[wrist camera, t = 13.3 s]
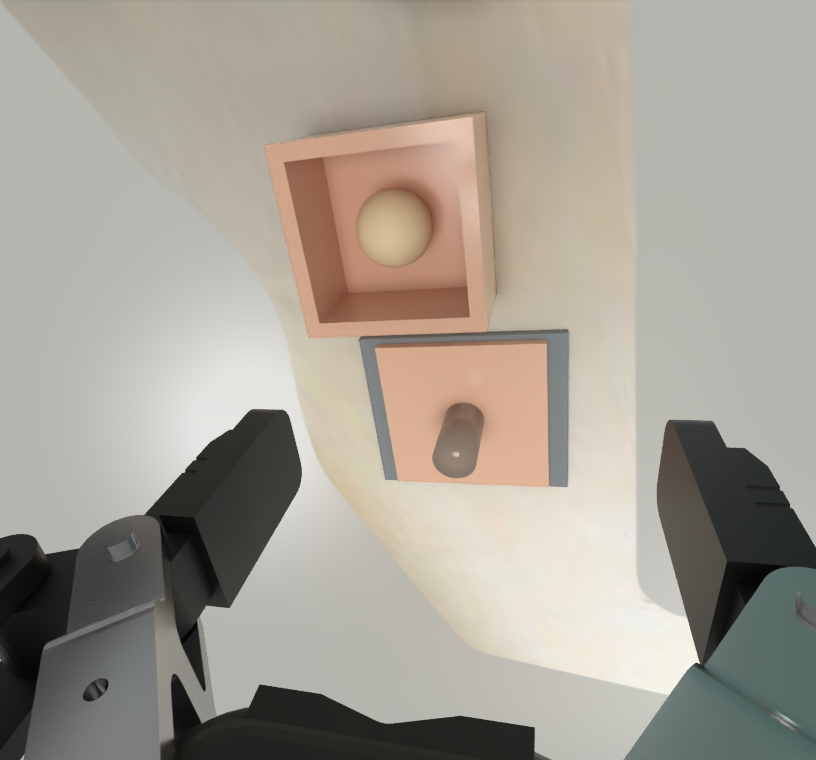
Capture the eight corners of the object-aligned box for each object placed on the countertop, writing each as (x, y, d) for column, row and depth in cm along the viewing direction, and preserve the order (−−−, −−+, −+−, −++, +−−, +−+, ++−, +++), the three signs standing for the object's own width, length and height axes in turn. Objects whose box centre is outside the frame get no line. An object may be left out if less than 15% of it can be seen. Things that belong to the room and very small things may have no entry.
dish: (342, 302, 42) (308, 337, 36) (310, 135, 37) (263, 145, 31) (496, 294, 39) (487, 331, 33) (486, 111, 33) (472, 116, 27)
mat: (387, 475, 49) (385, 479, 49) (361, 336, 43) (359, 339, 43) (567, 482, 45) (567, 486, 45) (568, 329, 39) (568, 333, 38)
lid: (400, 475, 48) (381, 524, 43) (377, 344, 42) (352, 381, 37) (548, 480, 45) (549, 534, 39) (546, 339, 39) (546, 379, 34)
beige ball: (374, 258, 39) (352, 280, 34) (362, 186, 36) (338, 199, 32) (442, 253, 37) (428, 275, 33) (434, 178, 35) (418, 191, 31)
